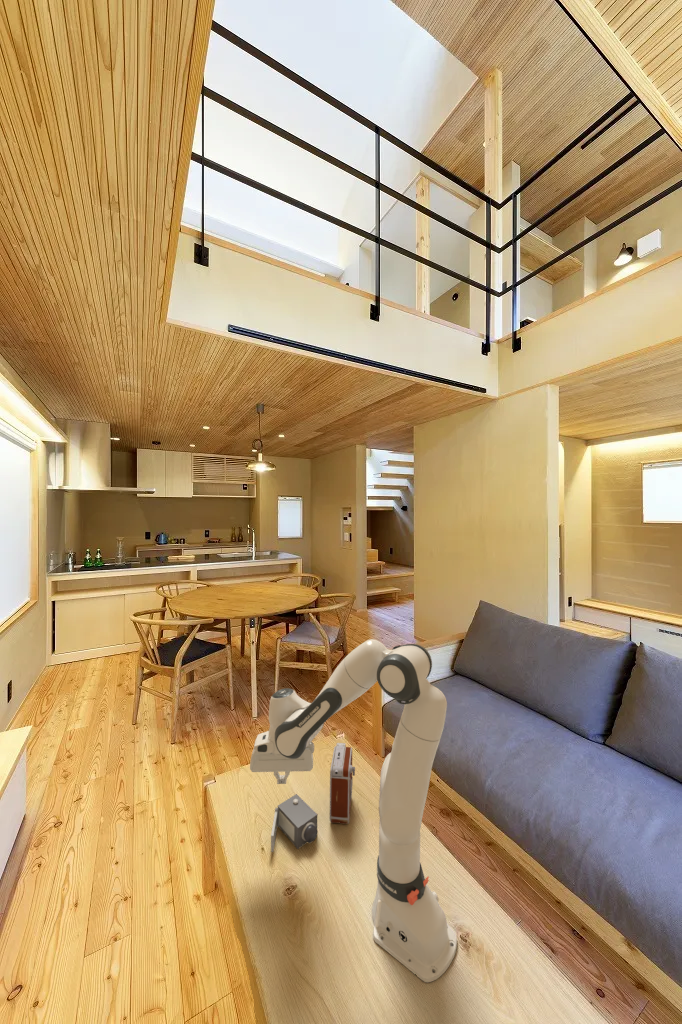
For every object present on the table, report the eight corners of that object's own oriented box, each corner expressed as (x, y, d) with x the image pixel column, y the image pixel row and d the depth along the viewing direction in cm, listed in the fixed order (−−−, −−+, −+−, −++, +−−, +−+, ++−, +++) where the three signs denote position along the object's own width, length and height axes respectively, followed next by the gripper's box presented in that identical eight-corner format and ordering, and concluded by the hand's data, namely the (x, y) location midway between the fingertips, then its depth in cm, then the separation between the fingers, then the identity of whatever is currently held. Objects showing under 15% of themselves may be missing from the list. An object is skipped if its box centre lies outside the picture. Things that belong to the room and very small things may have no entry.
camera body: (321, 839, 124) (321, 817, 124) (302, 854, 119) (302, 831, 118) (296, 813, 135) (296, 792, 135) (277, 825, 129) (277, 804, 129)
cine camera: (355, 785, 148) (356, 736, 148) (352, 827, 129) (353, 770, 128) (332, 784, 149) (333, 734, 149) (326, 825, 130) (326, 768, 129)
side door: (273, 853, 118) (273, 834, 118) (270, 853, 118) (270, 834, 118) (277, 824, 129) (278, 807, 129) (275, 825, 129) (275, 807, 129)
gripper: (314, 734, 125) (314, 775, 125) (252, 734, 124) (252, 776, 124) (314, 746, 118) (313, 789, 118) (248, 747, 117) (248, 790, 118)
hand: (281, 782), depth 121 cm, fingers closed
